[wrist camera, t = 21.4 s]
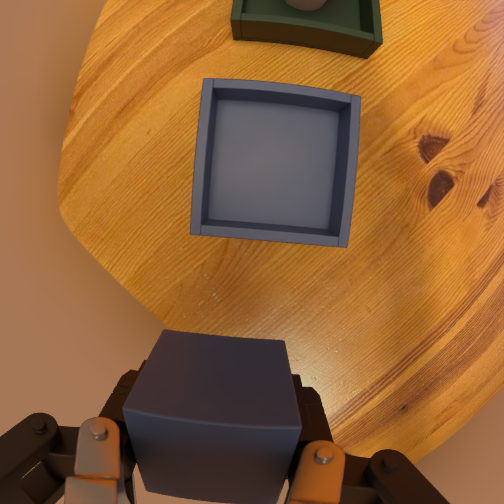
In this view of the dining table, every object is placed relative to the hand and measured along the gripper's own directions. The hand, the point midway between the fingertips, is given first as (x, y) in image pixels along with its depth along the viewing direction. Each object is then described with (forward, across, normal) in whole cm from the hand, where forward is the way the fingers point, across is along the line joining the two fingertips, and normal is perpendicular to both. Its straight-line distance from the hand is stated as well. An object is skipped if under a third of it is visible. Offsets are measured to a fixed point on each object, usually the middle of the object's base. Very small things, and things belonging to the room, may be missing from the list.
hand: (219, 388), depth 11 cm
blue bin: (+13, -2, -9) cm, 16 cm away
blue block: (0, 0, 0) cm, 0 cm away
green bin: (+13, -4, -25) cm, 28 cm away
